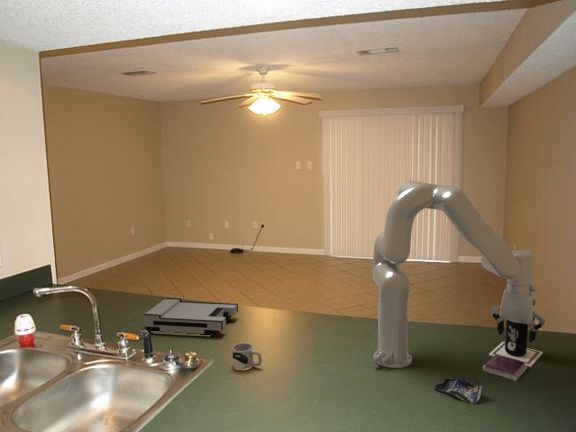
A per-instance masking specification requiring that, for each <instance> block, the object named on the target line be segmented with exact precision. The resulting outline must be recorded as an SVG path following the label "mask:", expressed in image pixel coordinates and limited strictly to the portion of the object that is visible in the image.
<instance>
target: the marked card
mask: <svg viewBox="0 0 576 432" xmlns="http://www.w3.org/2000/svg"><path fill="white" fill-rule="evenodd" d="M543 353H544V351H540V350H536V349H532V348H528V347H527V352H526V354H525V355H524V356H520V357H517V356H512V355H510V354H508V353H507V352H506V351H505V341H502V342H501V343H499V345H497V346H496V347H495V348H494V349H493V350H492V351H491V352H489V353H488V356H491V357H494V356H495V355H499V356H503V357H506V358H510V359H513V360H517V361H521V362H524V363H525V364H524V365H527V367H529V368H531V367H532V366H533V365H534V364H535V363H536V362H537V361H538V359H540V357H541V356H542V355H543Z"/></svg>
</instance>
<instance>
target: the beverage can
mask: <svg viewBox="0 0 576 432" xmlns="http://www.w3.org/2000/svg"><path fill="white" fill-rule="evenodd" d="M528 330H529V326H528V325H527V324H523V323H521V322H515V321H511V320H506V321H505V337H504V338H505V339H504V342H505V351H506V352H507V353H508V354H510V355H512V356H517V357H520V356H524V355H525V354H526V352H527V348H528V336H529V333H528V332H529V331H528Z"/></svg>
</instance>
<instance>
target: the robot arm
mask: <svg viewBox="0 0 576 432" xmlns="http://www.w3.org/2000/svg"><path fill="white" fill-rule="evenodd" d="M424 209H428V210H429V209H430V210H437V211H441V212H443V213H444V215H445V216H446V217H447V218H448V220H449V221H450V223H452V225H453V226H454V228H455V229H456V231H457V232H458V233H459V235H460V237H462V238H463V239H464V240H465V242H467V243H469V244H470V245H471V246H472V247H474V248H475V249H477V250H478V251H479V252H480V254H482V256H481V257H480V263H481V265H482V267H483V268H484V269H485V270H487V271H488V272H490V273H492V274H494V275H496V276H498V277H499V278H501V279H504V280H506V285H505V286H506V288H505V289H504V290H503V294H502V298H501V302H500V304H498V305H495V306H491V307H490V308H489V310H490V312H491V315H492V317H493V318H494V320H495V321H496V323H497V326H496V328H497V329H496V331H497V334H498V335H499V336H500V335H502V334H503V333H504V332H505V321H504V320H506V321H507V320H511V321H515V322H521V323H523V324H527V325H528V328H529V329H530V330H529V331H528V332H529V333H528V337H529V338H528V343H530V344H532V343H533V342H534V341H536V339H537V331H538V330H539V329H541V328H542V327H543V326H544V325H545V324H546V322H547V319H546V318H545V317H543V316H542V315H541V314H539V313H538V312H537V309H536V308H537V306H536V295H535V293H536V292H537V290H538V288H537V287H535V286H534V285H533V279H534V278H533V276H534V275H533V274H534V260H535V258H534V257H535V256H534V254H533V253H532V252H530V251H527V250H523V249H521V250H520V249H515V250H512V249H511V248H510V247H509V246H508V244H507V243H506V241H504V239H502V238H501V237H500V236H499V235H498V233H497V232H496V231H494V229H493V228H492V227H491V226H490V225H489V224H488V223H487V221H486V220H485V219H484V218H483V217H482V215H481V214H480V212H479V211H478V209H476V206H474V204H473V203H472V202H471V200H470V199H469V197H468V196H467V194H466V193H465V192H464V191H463V190H461V189H460V188H458V187H453V186H448V185H442V184H434V183H427V182H422V181H418V180H417V181H416V180H408V181H404V182H403V183H402V184H401V185H400V186H399V188H398V190H397V196H396V197H395V199H394V200H393V201H392V202H391V204H390V206H389V207H388V210H387V213H386V217H385V223H384V231H382V232H380V233H379V234H378V235H377V237H376V239H375V240H374V241H375V242H374V245H373V246H374V247H373V255H372V256H373V259H372V267H371V268H372V270H371V271H372V272H371V273H372V279H373V281H374V284H375V285H376V286H377V287H378V288H379V295H378V297H379V298H378V303H377V317H378V318H377V321H378V322H377V325H378V326H377V328H378V329H377V345H378V346H377V350H376V351H375V352H374V353H373V357H371V358H370V359H371V362H372V363H373V364H378V365H379V366H382V367H385V368H389V369H400V368H401V369H403V368H406V367H408V366H410V365H411V364H412V363H413V357H412V355H411V354H410V353H409V352H408V339H409V337H408V332H409V331H408V330H409V328H408V326H409V325H408V324H409V323H408V322H409V321H408V319H409V317H408V314H409V313H408V312H409V311H408V310H409V298H410V291H411V283H410V279H409V276H408V275H407V273H406V272H405V271H404V270H403V269H401V265H402V264H403V263H405V262H406V261H407V260H408V259H409V257H410V254H411V244H412V234H413V233H412V232H413V226H414V220H415V219H416V216H417V215H418V214H419V213H420V212H421V211H423V210H424ZM497 311H499V313H497ZM536 320H538V321H539V322H538V324H536V322H535V321H536Z"/></svg>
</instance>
